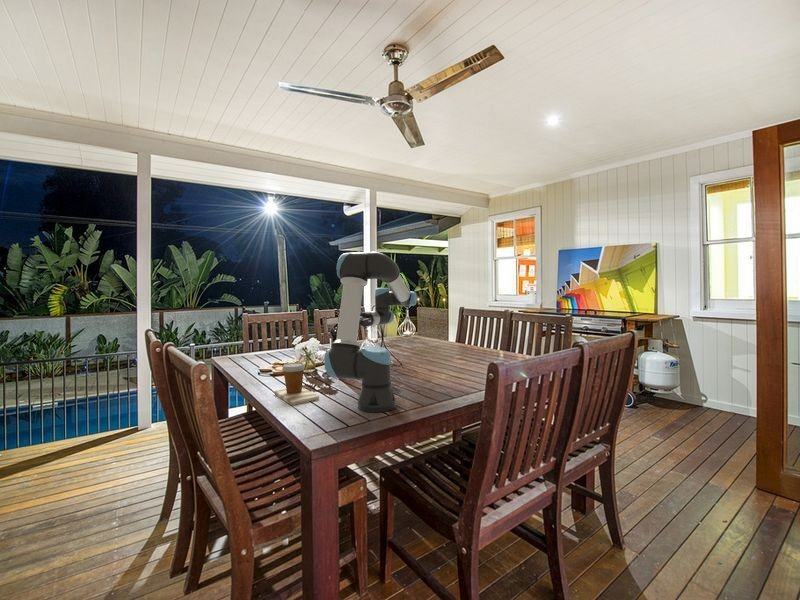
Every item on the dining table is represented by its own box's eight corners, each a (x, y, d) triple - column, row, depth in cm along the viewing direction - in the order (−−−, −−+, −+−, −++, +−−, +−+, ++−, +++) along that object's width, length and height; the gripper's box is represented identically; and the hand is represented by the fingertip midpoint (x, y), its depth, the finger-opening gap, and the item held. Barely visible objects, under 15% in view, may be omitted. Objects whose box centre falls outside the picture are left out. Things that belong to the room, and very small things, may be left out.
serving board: (319, 399, 160) (318, 395, 160) (291, 405, 153) (291, 401, 153) (300, 389, 175) (300, 386, 175) (274, 394, 168) (274, 391, 168)
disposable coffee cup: (294, 396, 160) (294, 368, 159) (278, 393, 164) (277, 365, 164) (309, 390, 168) (309, 363, 168) (293, 387, 173) (293, 361, 172)
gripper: (386, 328, 186) (353, 333, 170) (353, 324, 203) (320, 328, 187) (386, 313, 186) (353, 316, 170) (352, 310, 202) (319, 313, 186)
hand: (336, 322), depth 178 cm, fingers open, 13 cm apart
